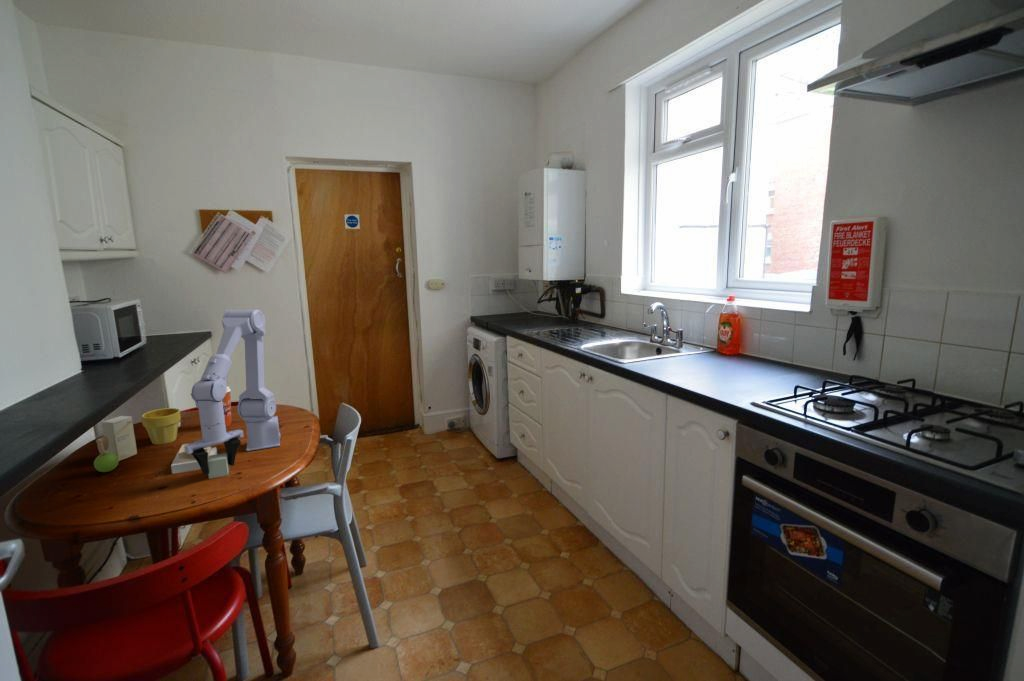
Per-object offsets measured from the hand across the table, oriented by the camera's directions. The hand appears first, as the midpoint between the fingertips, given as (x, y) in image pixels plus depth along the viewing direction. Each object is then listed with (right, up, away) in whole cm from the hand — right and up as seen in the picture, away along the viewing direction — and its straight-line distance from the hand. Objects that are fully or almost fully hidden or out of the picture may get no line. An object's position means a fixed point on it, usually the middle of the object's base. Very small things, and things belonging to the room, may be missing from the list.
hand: (218, 469), depth 136 cm
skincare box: (-37, 0, +13) cm, 39 cm away
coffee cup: (-39, +4, +39) cm, 55 cm away
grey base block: (-11, -1, +7) cm, 13 cm away
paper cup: (-22, +5, +39) cm, 45 cm away
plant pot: (-33, +2, +25) cm, 42 cm away
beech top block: (-11, +2, +7) cm, 13 cm away
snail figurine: (-33, -2, +2) cm, 33 cm away
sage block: (0, -1, 0) cm, 1 cm away
